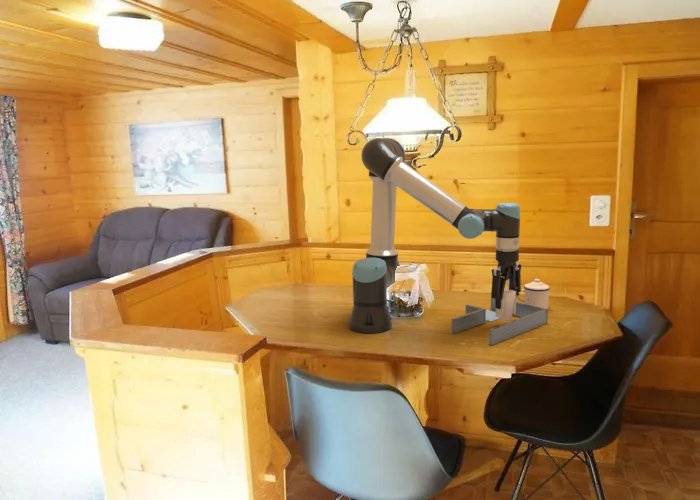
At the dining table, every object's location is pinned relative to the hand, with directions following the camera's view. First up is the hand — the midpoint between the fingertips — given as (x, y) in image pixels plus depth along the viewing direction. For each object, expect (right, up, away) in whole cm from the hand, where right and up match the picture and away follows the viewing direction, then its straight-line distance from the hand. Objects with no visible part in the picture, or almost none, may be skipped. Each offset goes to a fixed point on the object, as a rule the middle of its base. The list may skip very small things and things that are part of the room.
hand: (505, 315), depth 189 cm
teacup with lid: (+16, 0, +20) cm, 25 cm away
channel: (-4, -4, +1) cm, 6 cm away
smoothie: (0, -1, 0) cm, 1 cm away
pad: (-3, -2, +12) cm, 13 cm away
